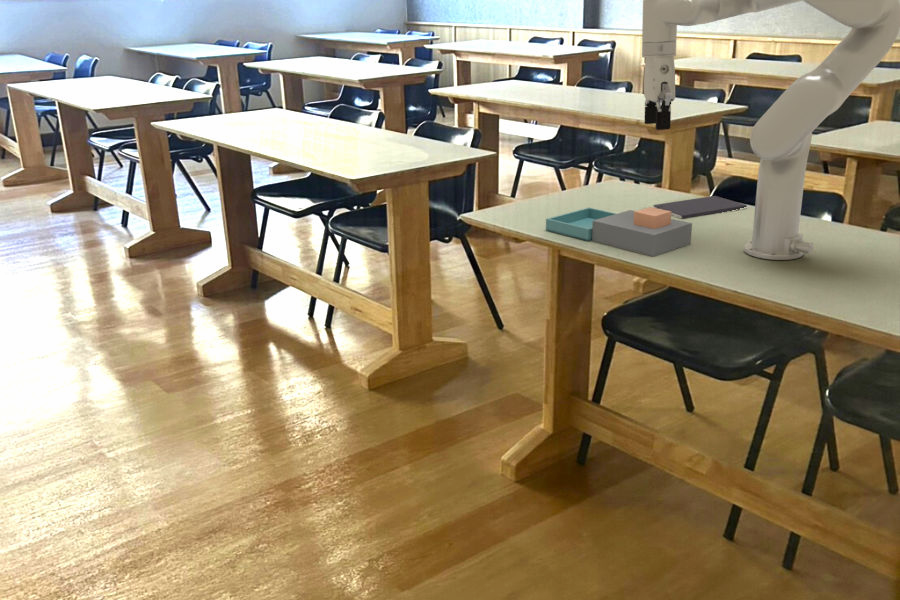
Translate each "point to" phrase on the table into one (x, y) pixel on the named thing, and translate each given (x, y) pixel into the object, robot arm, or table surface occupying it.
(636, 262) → the table surface
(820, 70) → the robot arm
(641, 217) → the terracotta block
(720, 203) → the notebook
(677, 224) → the slate bench plate
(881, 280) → the table surface
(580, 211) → the tray
